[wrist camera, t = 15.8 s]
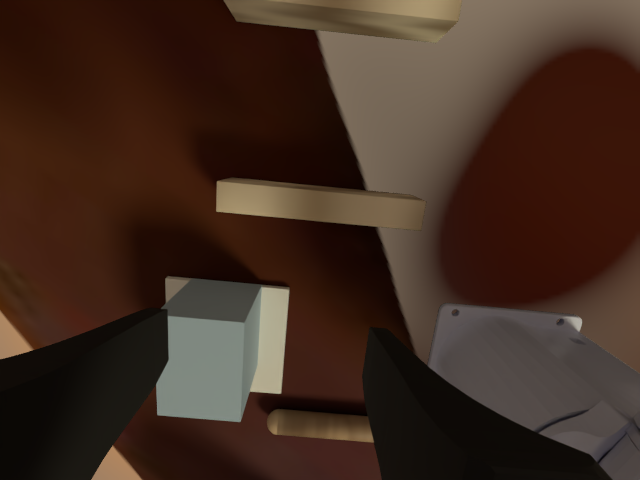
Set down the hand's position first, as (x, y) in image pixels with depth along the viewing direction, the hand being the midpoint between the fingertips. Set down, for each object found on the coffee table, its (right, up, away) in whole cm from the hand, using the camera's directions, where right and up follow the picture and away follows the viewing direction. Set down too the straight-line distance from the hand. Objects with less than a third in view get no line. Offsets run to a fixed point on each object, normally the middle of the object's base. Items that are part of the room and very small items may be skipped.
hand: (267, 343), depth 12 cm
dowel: (+4, -10, +13) cm, 16 cm away
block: (-4, -2, +10) cm, 11 cm away
